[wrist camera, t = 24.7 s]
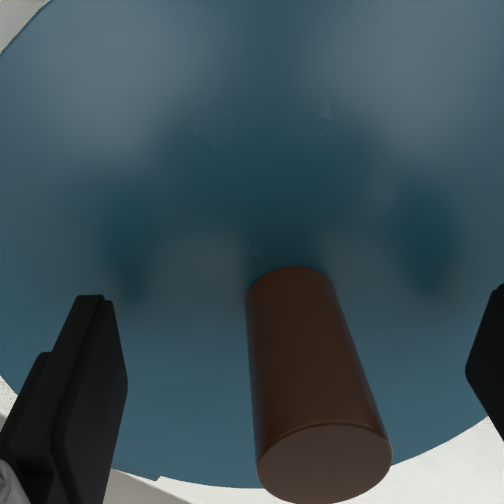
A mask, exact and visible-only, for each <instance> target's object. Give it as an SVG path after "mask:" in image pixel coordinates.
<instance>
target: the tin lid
mask: <svg viewBox="0 0 504 504" xmlns="http://www.w3.org/2000/svg"><path fill="white" fill-rule="evenodd" d="M503 283H504V0H50V1H49V2H48V3H47V4H45V5H44V6H43V7H42V8H40V9H39V10H38V12H37V13H36V14H35V15H34V16H33V17H32V18H31V19H30V20H29V22H28V23H27V24H26V25H25V26H24V27H23V28H22V29H21V31H20V32H19V33H18V34H17V35H16V36H15V37H14V38H13V39H12V41H11V42H10V43H9V44H8V45H7V46H6V47H5V48H4V49H3V51H2V52H1V54H0V376H1V377H2V378H3V379H4V380H5V381H6V383H7V384H8V385H9V386H10V387H11V389H12V390H13V391H14V392H15V393H16V394H17V395H19V393H20V391H21V389H22V386H23V384H24V382H25V380H26V378H27V376H28V374H29V372H30V370H31V368H32V366H33V364H34V362H35V360H36V358H37V356H38V355H39V354H40V353H41V352H52V349H53V347H54V345H55V343H56V340H57V338H58V336H59V334H60V332H61V329H62V327H63V325H64V323H65V320H66V318H67V316H68V314H69V312H70V309H71V307H72V305H73V303H74V301H75V298H76V297H77V296H78V295H97V294H102V295H103V296H104V297H105V300H111V301H112V302H113V306H114V311H115V316H116V321H117V326H118V331H119V336H120V341H121V347H122V352H123V357H124V362H125V367H126V372H127V377H128V393H127V398H126V402H125V407H124V411H123V415H122V420H121V424H120V429H119V433H118V438H117V442H116V446H115V451H114V455H113V460H116V461H118V462H120V463H123V464H125V465H128V466H131V467H134V468H137V469H140V470H143V471H146V472H148V473H152V474H156V475H159V476H163V477H167V478H171V479H175V480H179V481H185V482H191V483H197V484H203V485H209V486H219V487H231V488H265V489H266V490H267V491H268V492H269V493H270V494H272V495H273V496H275V497H277V498H279V499H281V500H284V501H287V502H291V503H295V504H333V503H338V502H342V501H345V500H349V499H351V498H354V497H357V496H359V495H361V494H363V493H365V492H367V491H368V490H370V489H371V488H373V487H374V486H376V485H377V484H378V483H379V482H380V481H381V480H382V479H383V478H384V477H385V476H386V474H387V473H388V471H389V469H390V467H391V466H392V465H395V464H397V463H400V462H403V461H405V460H408V459H410V458H413V457H415V456H418V455H420V454H422V453H424V452H426V451H429V450H431V449H433V448H435V447H437V446H439V445H441V444H443V443H445V442H447V441H449V440H451V439H452V438H454V437H456V436H457V435H459V434H461V433H462V432H464V431H466V430H468V429H469V428H471V427H473V426H474V425H476V424H477V423H479V422H480V421H482V420H483V419H484V418H486V417H487V416H488V414H487V413H486V411H485V409H484V408H483V406H482V404H481V403H480V401H479V399H478V398H477V396H476V394H475V393H474V391H473V389H472V388H471V386H470V384H469V383H468V381H467V379H466V376H465V365H466V362H467V359H468V357H469V354H470V351H471V348H472V345H473V343H474V340H475V337H476V334H477V331H478V328H479V326H480V323H481V320H482V317H483V314H484V311H485V309H486V306H487V303H488V300H489V297H490V295H491V293H492V291H493V290H495V289H497V288H498V286H499V285H500V284H503Z"/></svg>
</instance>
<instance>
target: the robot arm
mask: <svg viewBox="0 0 504 504" xmlns="http://www.w3.org/2000/svg"><path fill="white" fill-rule="evenodd" d="M465 376H466V379H467V381H468V383H469V384H470V386H471V388H472V389H473V391H474V393H475V394H476V396H477V398H478V399H479V401H480V403H481V404H482V406H483V408H484V409H485V411H486V413H487V414H488V416H489V418H490V419H491V421H492V423H493V424H494V426H495V428H496V429H497V431H498V433H499V434H500V436H501V438H502V439H503V441H504V283H503V284H500V285H499V286H498V288H497V289H495V290H493V291H492V293H491V295H490V297H489V300H488V303H487V306H486V309H485V311H484V314H483V317H482V320H481V323H480V326H479V328H478V331H477V334H476V337H475V340H474V343H473V345H472V348H471V351H470V354H469V357H468V359H467V362H466V365H465ZM127 393H128V377H127V372H126V367H125V362H124V357H123V352H122V347H121V341H120V336H119V331H118V326H117V321H116V316H115V311H114V306H113V302H112V301H111V300H105V297H104V296H103V295H102V294H97V295H78V296H77V297H76V298H75V301H74V303H73V305H72V307H71V309H70V312H69V314H68V316H67V318H66V320H65V323H64V325H63V327H62V329H61V332H60V334H59V336H58V338H57V340H56V343H55V345H54V347H53V349H52V352H41V353H40V354H39V355H38V356H37V358H36V360H35V362H34V364H33V366H32V368H31V370H30V372H29V374H28V376H27V378H26V380H25V382H24V384H23V386H22V389H21V391H20V393H19V395H18V397H17V399H16V401H15V403H14V405H13V407H12V409H11V411H10V413H9V415H8V418H7V420H6V422H5V424H4V426H3V428H2V430H1V432H0V504H103V499H104V495H105V491H106V486H107V482H108V477H109V473H110V468H111V464H112V460H113V455H114V451H115V446H116V442H117V438H118V433H119V429H120V424H121V420H122V415H123V411H124V407H125V402H126V398H127Z"/></svg>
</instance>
